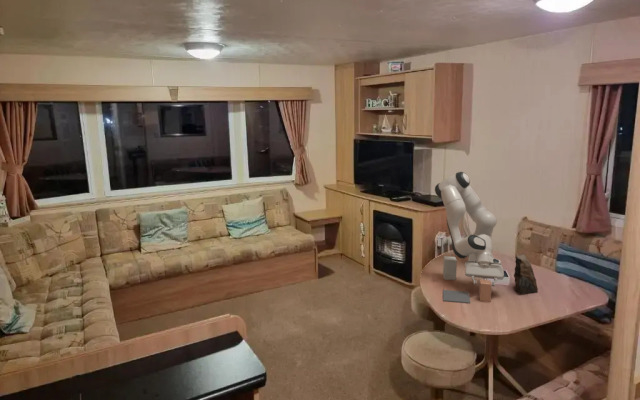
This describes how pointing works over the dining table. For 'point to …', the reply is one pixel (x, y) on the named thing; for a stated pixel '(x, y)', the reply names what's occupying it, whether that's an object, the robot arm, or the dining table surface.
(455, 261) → the supplement box
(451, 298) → the grey mat
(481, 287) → the tan rectangular pillar
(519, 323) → the dining table surface
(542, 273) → the dining table surface
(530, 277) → the dark brown rock
